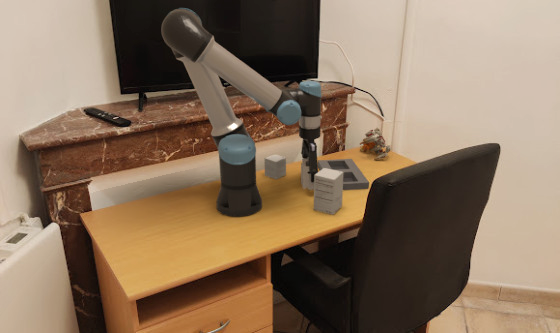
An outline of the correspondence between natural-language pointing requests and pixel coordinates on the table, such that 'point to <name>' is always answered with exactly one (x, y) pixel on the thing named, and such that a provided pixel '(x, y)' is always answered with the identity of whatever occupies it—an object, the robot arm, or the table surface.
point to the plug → (305, 174)
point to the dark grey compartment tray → (346, 173)
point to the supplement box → (328, 190)
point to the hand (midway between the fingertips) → (308, 181)
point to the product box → (275, 166)
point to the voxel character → (375, 143)
